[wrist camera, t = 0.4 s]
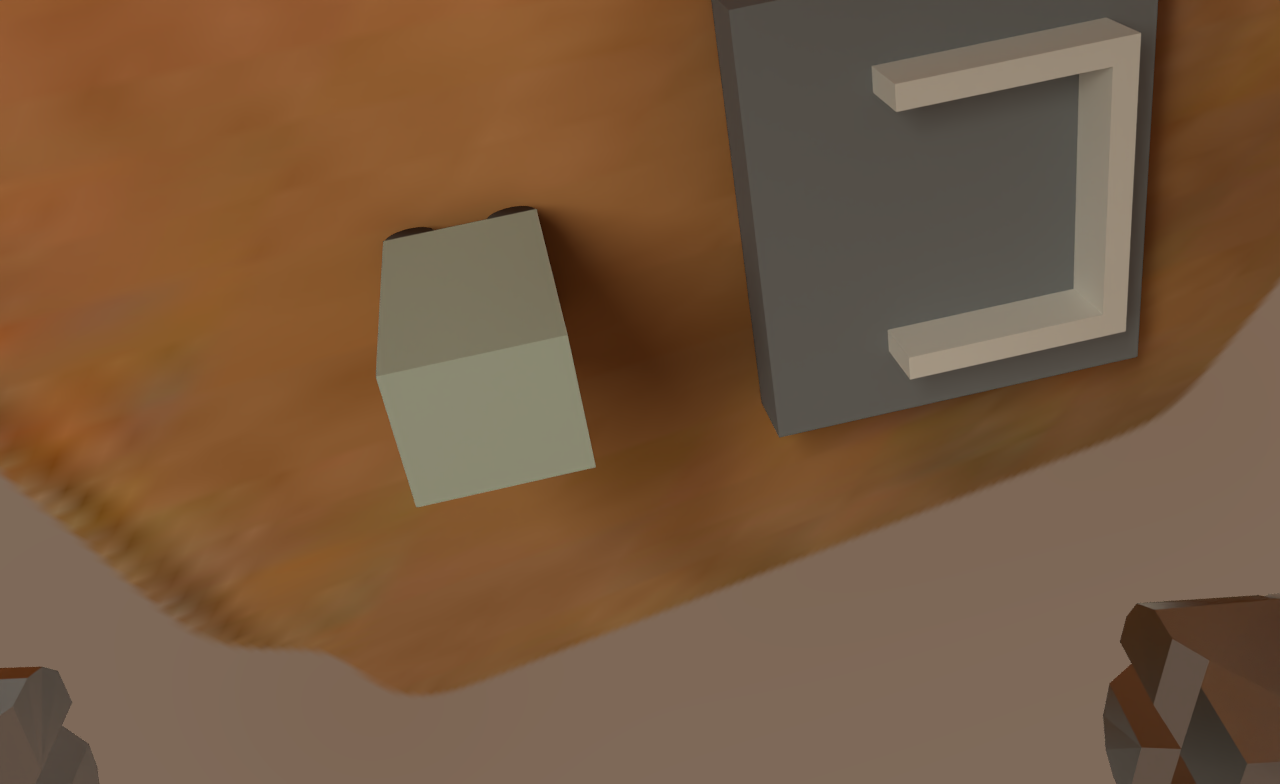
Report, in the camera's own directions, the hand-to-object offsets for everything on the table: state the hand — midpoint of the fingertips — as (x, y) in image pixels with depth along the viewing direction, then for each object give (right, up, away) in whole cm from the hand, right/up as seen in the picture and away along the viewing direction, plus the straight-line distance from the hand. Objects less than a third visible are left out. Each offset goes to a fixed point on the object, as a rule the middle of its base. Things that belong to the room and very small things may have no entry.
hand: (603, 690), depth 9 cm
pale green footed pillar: (-6, +7, +40) cm, 41 cm away
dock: (+12, +11, +41) cm, 44 cm away
